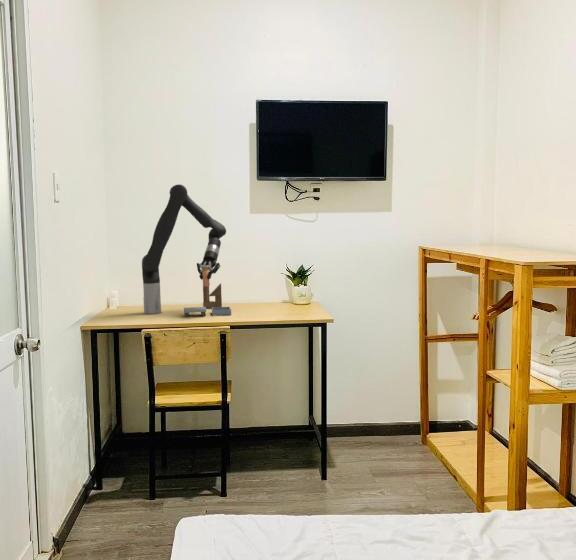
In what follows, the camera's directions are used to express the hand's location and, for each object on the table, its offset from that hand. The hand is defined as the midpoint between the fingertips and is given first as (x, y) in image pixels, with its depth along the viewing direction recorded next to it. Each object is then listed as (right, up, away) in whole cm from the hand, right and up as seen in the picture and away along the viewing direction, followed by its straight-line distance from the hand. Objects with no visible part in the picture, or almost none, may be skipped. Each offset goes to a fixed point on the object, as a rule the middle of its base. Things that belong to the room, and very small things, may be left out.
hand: (204, 278), depth 319 cm
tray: (+8, -20, +7) cm, 22 cm away
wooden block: (+1, -17, +28) cm, 33 cm away
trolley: (-6, -20, +2) cm, 21 cm away
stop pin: (+1, -4, +2) cm, 5 cm away
